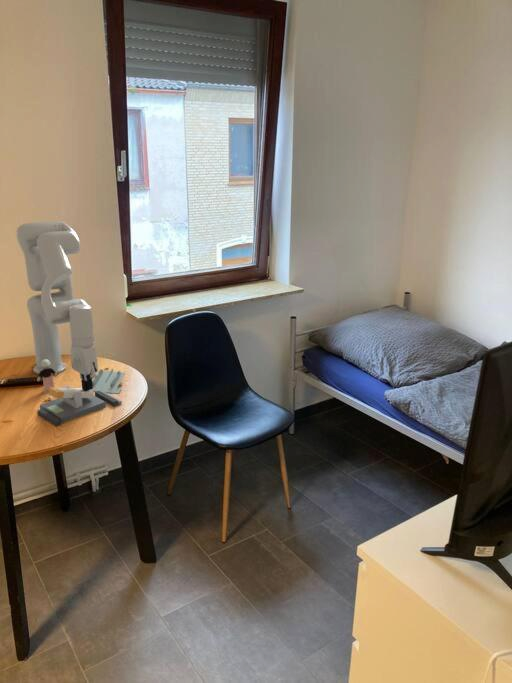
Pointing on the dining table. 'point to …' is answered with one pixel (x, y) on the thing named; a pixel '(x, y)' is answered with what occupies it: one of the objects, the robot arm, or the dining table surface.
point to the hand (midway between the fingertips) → (87, 389)
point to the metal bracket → (107, 381)
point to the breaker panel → (72, 406)
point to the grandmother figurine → (47, 375)
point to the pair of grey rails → (98, 394)
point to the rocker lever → (69, 392)
